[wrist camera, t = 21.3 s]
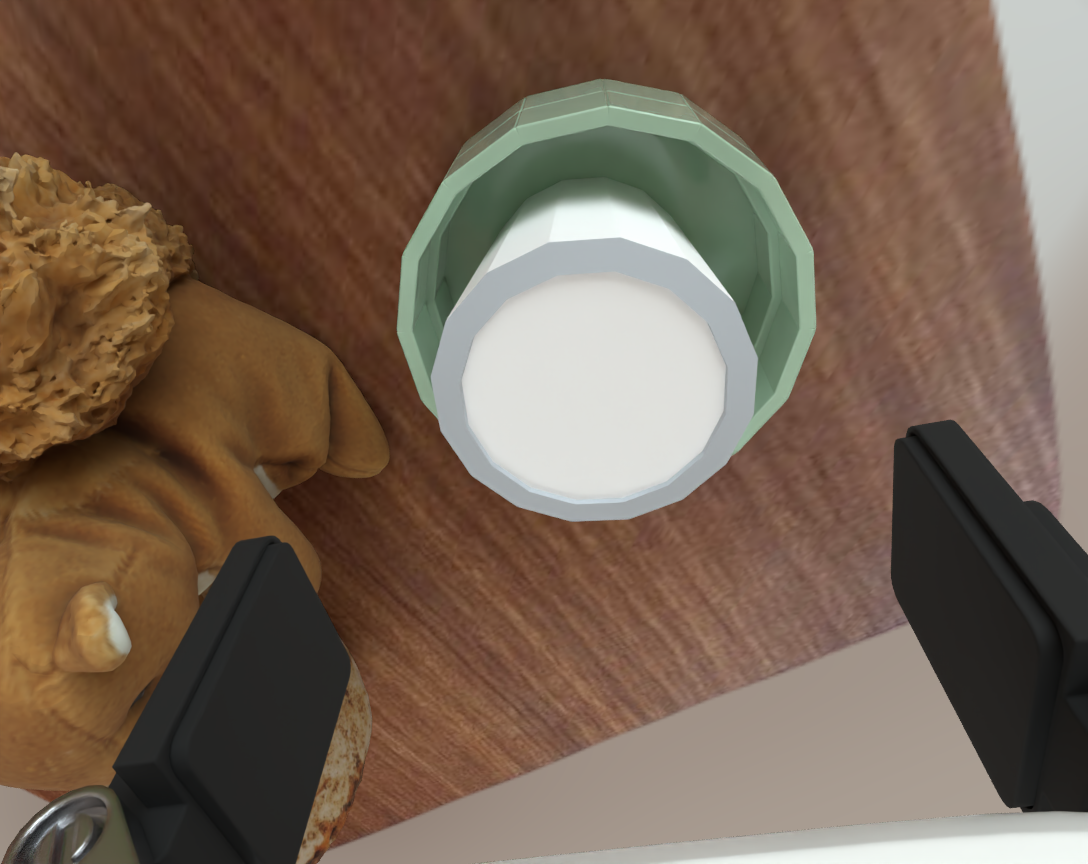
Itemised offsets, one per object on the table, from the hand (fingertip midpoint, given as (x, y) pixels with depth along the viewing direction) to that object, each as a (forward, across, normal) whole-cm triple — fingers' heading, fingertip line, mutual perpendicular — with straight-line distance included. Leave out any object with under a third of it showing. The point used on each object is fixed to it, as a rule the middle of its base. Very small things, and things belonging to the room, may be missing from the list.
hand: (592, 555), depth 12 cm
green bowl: (+12, -1, 0) cm, 13 cm away
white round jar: (+12, 0, 0) cm, 12 cm away
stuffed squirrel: (+13, +12, 0) cm, 18 cm away
